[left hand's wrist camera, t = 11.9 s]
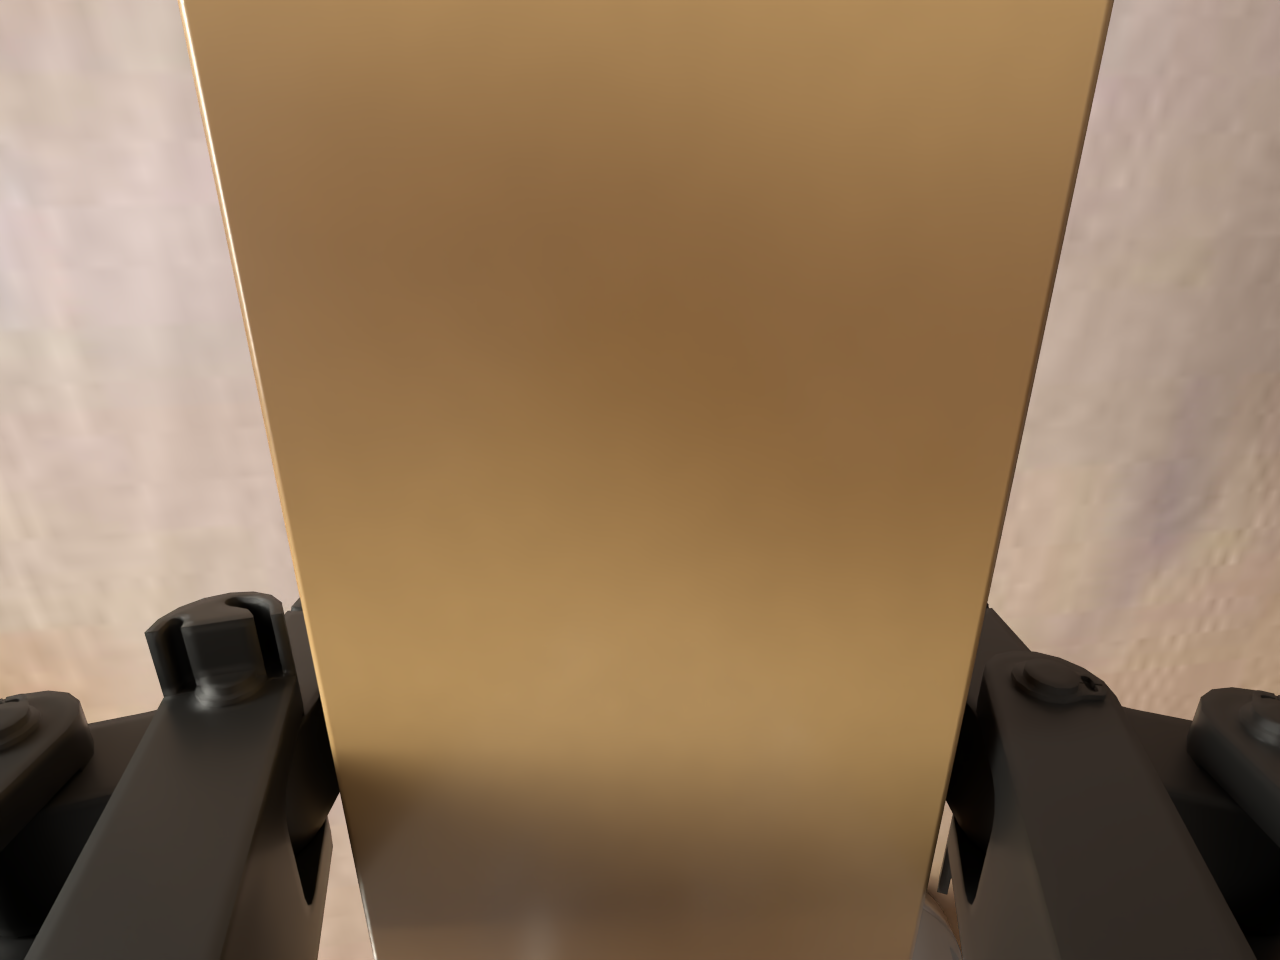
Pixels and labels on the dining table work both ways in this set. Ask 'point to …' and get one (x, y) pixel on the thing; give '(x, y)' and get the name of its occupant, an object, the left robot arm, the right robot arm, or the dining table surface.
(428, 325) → the bar
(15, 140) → the dining table surface
